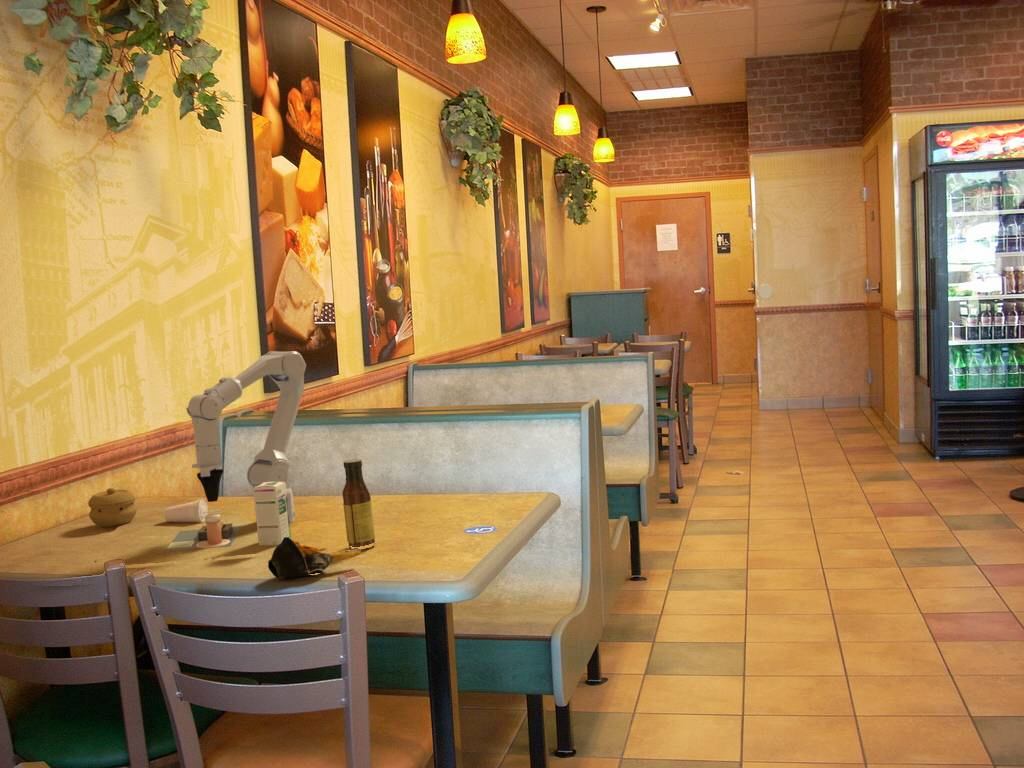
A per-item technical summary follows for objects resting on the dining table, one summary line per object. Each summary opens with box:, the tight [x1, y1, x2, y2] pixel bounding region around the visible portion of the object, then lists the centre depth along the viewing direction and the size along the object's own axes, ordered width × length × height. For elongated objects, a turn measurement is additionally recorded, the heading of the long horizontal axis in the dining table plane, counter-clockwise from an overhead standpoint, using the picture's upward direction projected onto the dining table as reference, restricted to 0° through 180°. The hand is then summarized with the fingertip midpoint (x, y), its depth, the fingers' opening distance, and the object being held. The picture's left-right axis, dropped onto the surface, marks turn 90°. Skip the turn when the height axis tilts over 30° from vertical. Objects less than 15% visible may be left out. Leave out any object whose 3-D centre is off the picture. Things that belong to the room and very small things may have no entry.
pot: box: [87, 487, 138, 528], centre depth 277 cm, size 12×12×10 cm
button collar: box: [198, 523, 234, 541], centre depth 255 cm, size 7×7×2 cm
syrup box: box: [252, 481, 292, 546], centre depth 245 cm, size 6×6×14 cm
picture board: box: [163, 525, 243, 553], centre depth 254 cm, size 15×20×1 cm
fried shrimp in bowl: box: [267, 537, 362, 579], centre depth 220 cm, size 9×11×18 cm
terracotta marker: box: [204, 513, 222, 545], centre depth 248 cm, size 4×4×6 cm
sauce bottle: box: [342, 458, 376, 547], centre depth 238 cm, size 6×6×20 cm
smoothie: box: [164, 498, 220, 523], centre depth 274 cm, size 6×6×14 cm
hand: (212, 501), depth 254 cm, fingers closed
